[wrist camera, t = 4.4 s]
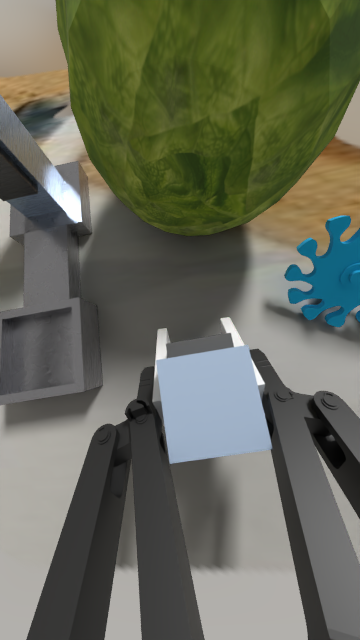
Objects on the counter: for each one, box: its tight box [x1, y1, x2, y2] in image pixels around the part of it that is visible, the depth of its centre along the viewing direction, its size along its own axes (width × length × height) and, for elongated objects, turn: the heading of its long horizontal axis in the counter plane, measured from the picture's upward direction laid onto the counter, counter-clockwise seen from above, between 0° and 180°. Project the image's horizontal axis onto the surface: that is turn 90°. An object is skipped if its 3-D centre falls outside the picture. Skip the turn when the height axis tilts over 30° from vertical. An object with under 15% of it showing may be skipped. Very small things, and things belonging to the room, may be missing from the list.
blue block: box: [156, 333, 273, 464], centre depth 13 cm, size 4×5×10 cm
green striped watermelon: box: [56, 0, 360, 236], centre depth 14 cm, size 19×23×18 cm
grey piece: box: [0, 95, 103, 405], centre depth 16 cm, size 9×27×12 cm, turn 9°
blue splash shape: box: [284, 216, 360, 327], centre depth 17 cm, size 11×6×10 cm
